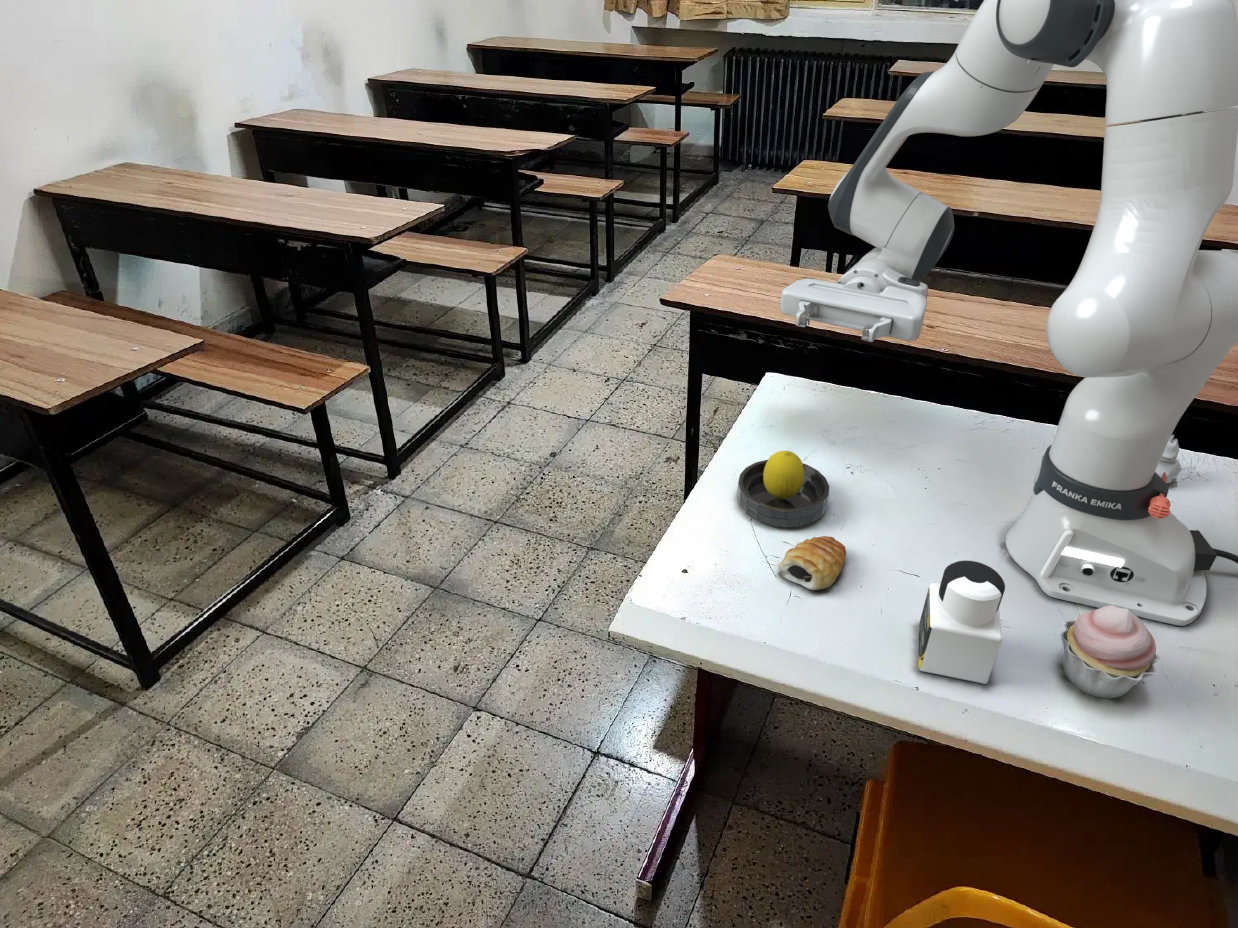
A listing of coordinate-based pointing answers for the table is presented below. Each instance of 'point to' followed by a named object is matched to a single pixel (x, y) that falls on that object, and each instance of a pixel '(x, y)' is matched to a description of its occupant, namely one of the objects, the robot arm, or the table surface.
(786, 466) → the lemon
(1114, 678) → the cupcake
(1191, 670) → the table surface
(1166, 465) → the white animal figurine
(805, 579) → the pastry
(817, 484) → the shallow dish
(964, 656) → the medicine bottle
